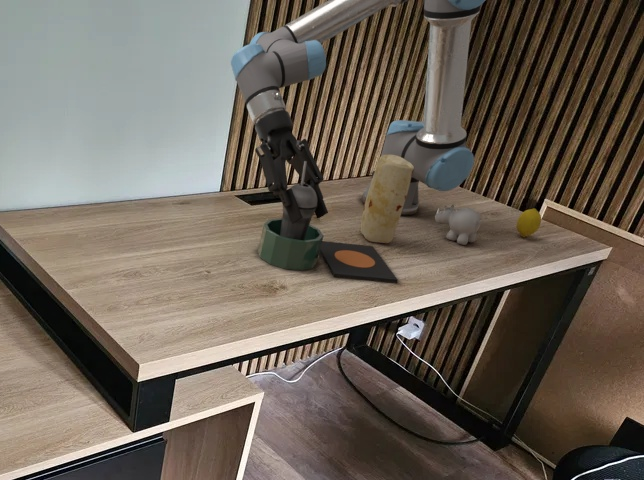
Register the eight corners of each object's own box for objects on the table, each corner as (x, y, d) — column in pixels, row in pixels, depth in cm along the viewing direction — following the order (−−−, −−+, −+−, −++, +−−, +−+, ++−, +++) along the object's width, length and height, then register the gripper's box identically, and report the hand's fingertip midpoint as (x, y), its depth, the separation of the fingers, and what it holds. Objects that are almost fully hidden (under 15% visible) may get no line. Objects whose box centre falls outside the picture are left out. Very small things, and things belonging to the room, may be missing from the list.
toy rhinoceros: (440, 226, 182) (450, 195, 178) (478, 244, 174) (490, 212, 170) (423, 229, 178) (433, 198, 174) (461, 247, 170) (473, 215, 166)
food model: (397, 244, 167) (423, 162, 156) (381, 248, 163) (406, 165, 152) (365, 229, 173) (388, 150, 162) (348, 233, 169) (371, 152, 158)
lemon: (535, 242, 182) (548, 213, 177) (514, 238, 182) (526, 209, 178) (530, 235, 186) (542, 207, 182) (509, 231, 187) (521, 203, 183)
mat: (314, 243, 160) (315, 239, 159) (371, 249, 161) (372, 245, 161) (333, 276, 145) (334, 273, 144) (396, 283, 146) (398, 279, 146)
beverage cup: (284, 262, 146) (305, 169, 135) (265, 248, 151) (284, 158, 141) (311, 259, 149) (334, 168, 139) (292, 245, 154) (312, 157, 144)
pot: (254, 243, 155) (260, 215, 152) (308, 248, 156) (315, 221, 153) (263, 266, 144) (269, 238, 141) (321, 272, 146) (329, 244, 142)
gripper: (247, 110, 136) (288, 216, 134) (314, 106, 147) (353, 204, 146) (225, 130, 142) (264, 232, 140) (291, 124, 153) (329, 219, 152)
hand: (310, 218), depth 143 cm, fingers closed on beverage cup, 7 cm apart
